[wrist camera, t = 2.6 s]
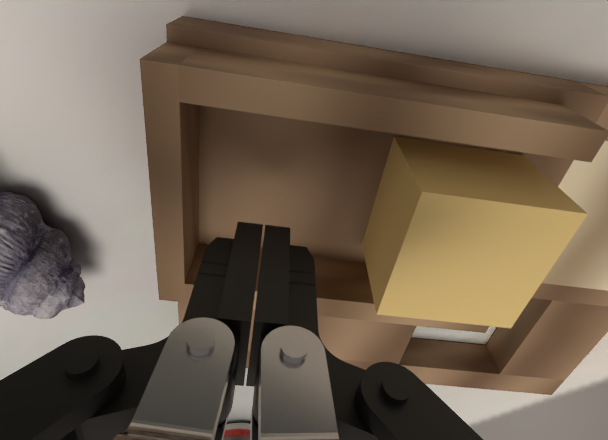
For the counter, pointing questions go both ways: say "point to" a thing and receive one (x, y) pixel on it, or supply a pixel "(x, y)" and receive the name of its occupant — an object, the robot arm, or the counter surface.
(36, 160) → the counter surface
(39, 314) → the seashell
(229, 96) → the cubby
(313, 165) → the wooden compartment tray
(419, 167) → the block
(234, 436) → the pill bottle
